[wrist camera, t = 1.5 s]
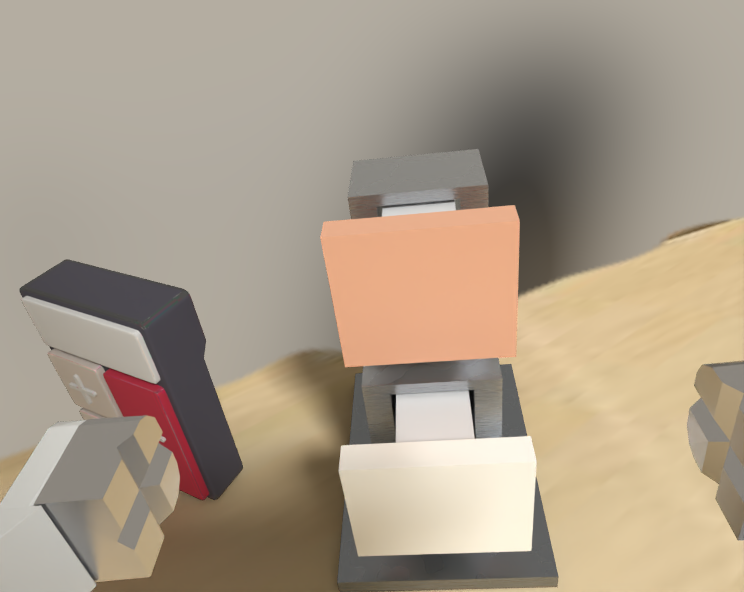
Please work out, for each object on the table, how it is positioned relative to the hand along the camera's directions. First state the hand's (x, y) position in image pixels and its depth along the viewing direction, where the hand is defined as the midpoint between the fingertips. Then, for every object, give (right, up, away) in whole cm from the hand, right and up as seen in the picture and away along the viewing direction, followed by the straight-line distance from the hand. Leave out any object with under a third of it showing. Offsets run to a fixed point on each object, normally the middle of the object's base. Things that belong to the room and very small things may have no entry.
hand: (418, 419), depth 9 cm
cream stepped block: (+3, -9, +25) cm, 27 cm away
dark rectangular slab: (-15, -10, +35) cm, 39 cm away
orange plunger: (+2, +1, +26) cm, 26 cm away
